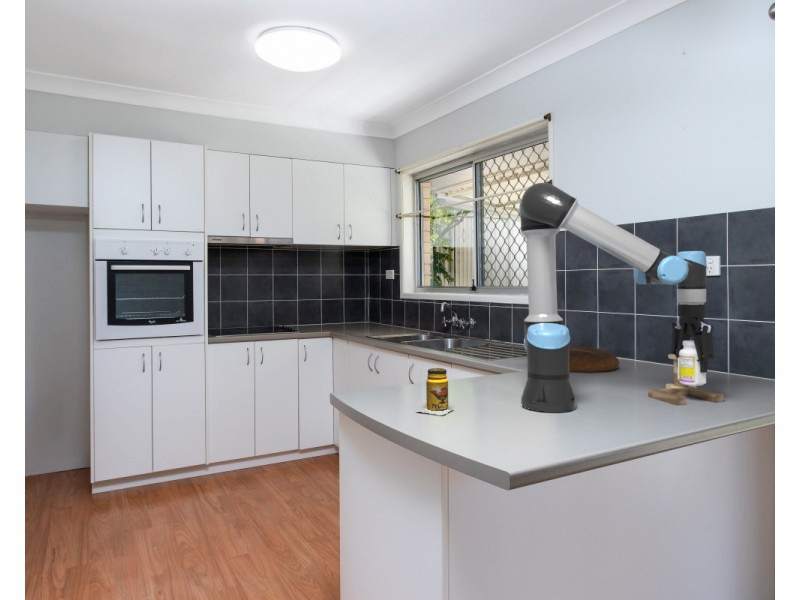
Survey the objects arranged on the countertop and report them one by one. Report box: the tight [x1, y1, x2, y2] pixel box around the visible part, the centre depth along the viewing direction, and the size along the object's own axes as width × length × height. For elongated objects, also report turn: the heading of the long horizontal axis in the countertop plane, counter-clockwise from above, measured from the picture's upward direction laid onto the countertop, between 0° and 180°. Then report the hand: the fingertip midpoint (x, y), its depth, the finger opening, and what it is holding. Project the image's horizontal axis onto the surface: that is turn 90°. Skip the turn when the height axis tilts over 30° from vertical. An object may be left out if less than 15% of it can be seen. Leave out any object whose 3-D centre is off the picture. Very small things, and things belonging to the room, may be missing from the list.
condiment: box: [425, 367, 449, 411], centre depth 148 cm, size 7×8×12 cm
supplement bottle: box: [679, 339, 706, 387], centre depth 158 cm, size 7×7×13 cm
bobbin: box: [665, 353, 698, 389], centre depth 174 cm, size 9×9×11 cm
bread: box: [569, 346, 620, 373], centre depth 220 cm, size 28×27×9 cm
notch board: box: [647, 387, 724, 406], centre depth 161 cm, size 16×12×2 cm
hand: (691, 381), depth 158 cm, fingers closed on supplement bottle, 7 cm apart
